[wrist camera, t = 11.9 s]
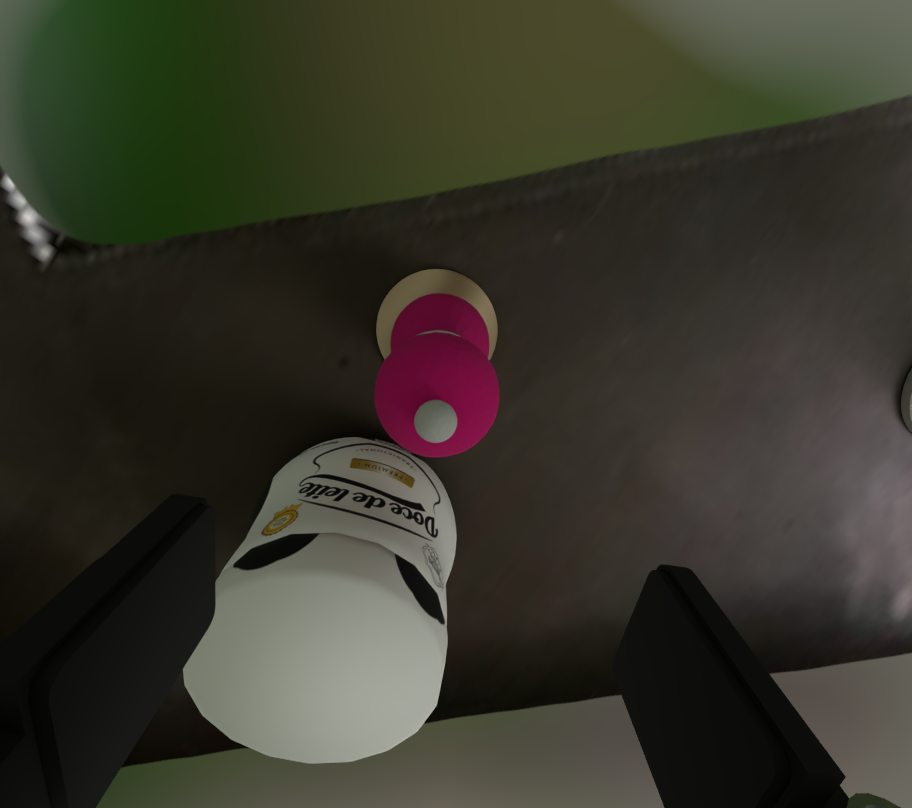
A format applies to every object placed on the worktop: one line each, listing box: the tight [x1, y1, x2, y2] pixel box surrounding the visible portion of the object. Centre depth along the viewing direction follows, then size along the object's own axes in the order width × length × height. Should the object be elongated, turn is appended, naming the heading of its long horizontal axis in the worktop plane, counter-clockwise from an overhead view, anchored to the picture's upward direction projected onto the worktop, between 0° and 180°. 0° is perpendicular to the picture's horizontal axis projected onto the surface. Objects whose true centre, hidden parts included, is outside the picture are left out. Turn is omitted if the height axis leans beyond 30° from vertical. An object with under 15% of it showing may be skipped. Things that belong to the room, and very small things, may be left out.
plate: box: [376, 269, 498, 360], centre depth 36 cm, size 10×10×1 cm
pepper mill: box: [374, 293, 499, 458], centre depth 27 cm, size 7×7×20 cm
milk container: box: [183, 437, 456, 764], centre depth 34 cm, size 17×17×18 cm
